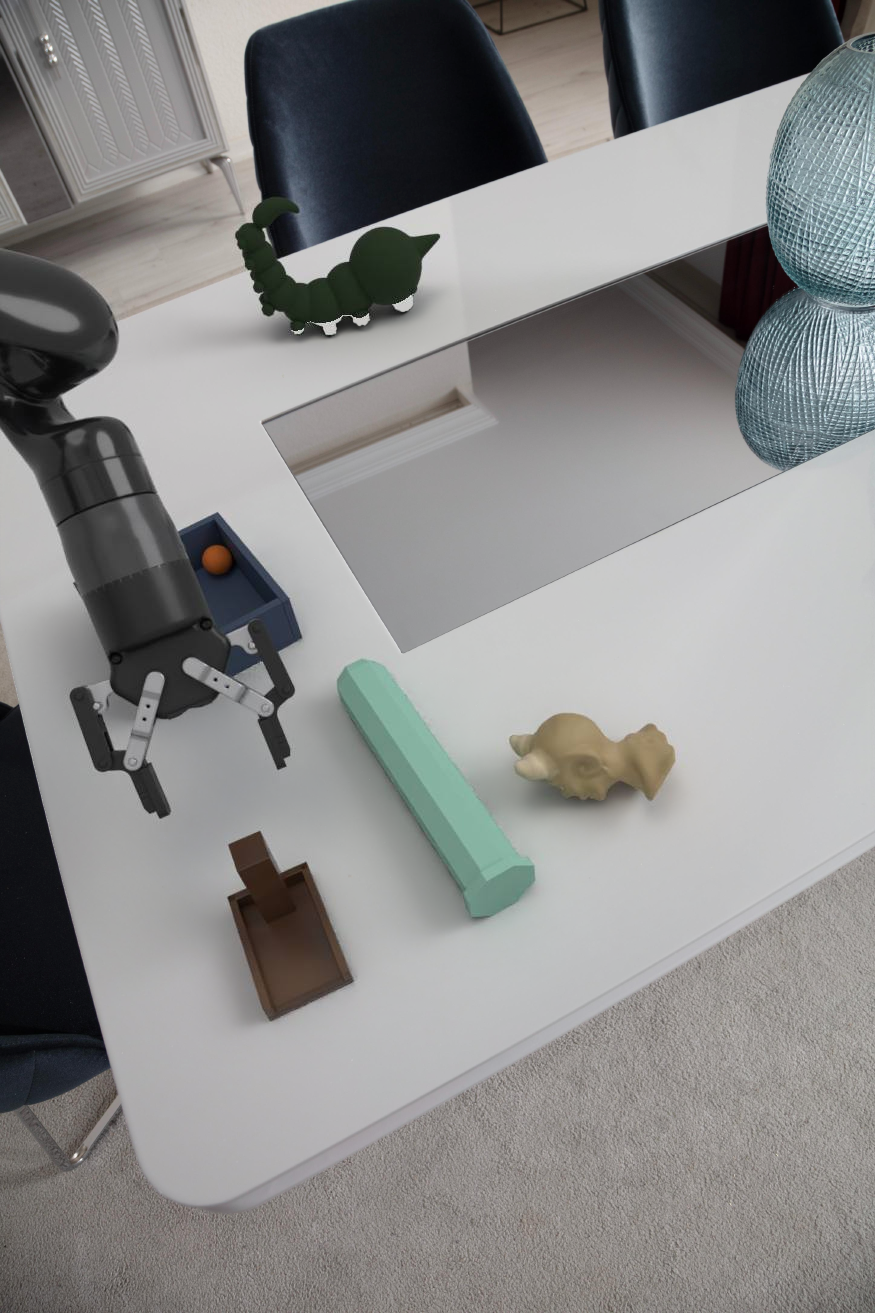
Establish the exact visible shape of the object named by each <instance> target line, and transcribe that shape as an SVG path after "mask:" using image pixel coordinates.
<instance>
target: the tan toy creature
mask: <svg viewBox="0 0 875 1313" xmlns="http://www.w3.org/2000/svg"><path fill="white" fill-rule="evenodd" d="M508 742H509V746H510V747H511V749H512V750H513V752H514V753H515V754H516V755H517V756H518V757H520V758H521V759H520V760H517V761H516V762H514V764H513V769H514V771H515V773H516V774H517V775H518V776H519V777H520V778H522V779H524V780H527V781H538V780H539V781H540V780H546V783H547V784H549V785H550V786H554V787H555V788H556V789H557V790H558V791H559V793H560V794H561V795H562V796H563V798H565V799H569V798H570V797H578V798H579V799H580V800H582V801H585V800H587V799H588V798H589V799H590V800H596V801H603V800H605V799H606V798H607V792H608V791H609V790H610V788H611V787H612V786H613V785H615V784H616V783H618V782H623V783H625V784H628V785H629V786H631V787H633V788H634V789H636V790H638V791H640V792H641V793H643V794H644V796H645V797H646V799H647V801H649V802H652V801H654V800H655V798H656V796H657V795H658V792H659V790H660V789H661V788H662V785H663V783H664V782H665V780H666V779H667V776H668V775H669V774H670V771H671V770H672V768H673V766H674V764H675V763H676V752H675V748H674V746H673V745H671V744H670V743H669V742H668V737H667V735H666V734H665V733H664V732H663V731H661V730H659V729H658V727H657V725H656V724H654V723H647V724H645V725H644V726H643V727H642V728H640V729H639V730H638V731H636V732H632V733H631V732H630V733H627V735H626V736H625V737H624V738H623V739H622V740H620V741H617V742H616V741H613V740H611V739H610V738H609V737H607V736H606V735H605V734H604V732H602V730H601V728H600V727H599V726H598V725H597V724H596V722H595V721H594V720H592V719H591V718H590V717H588V716H586V715H584V714H580V713H576V712H560V713H557V714H553V715H552V716H550V717H549V718H547V719H546V720H544V721H543V722H542V723H541V724H540V725H539V726H538V728H537V729H536V731H535V732H534V733H533V734H530V733H528V734H527V733H525V734H521V735H520V734H519V735H517V734H516V735H515V734H513V735H511V736H510V737H509V739H508Z"/></svg>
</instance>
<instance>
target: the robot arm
mask: <svg viewBox="0 0 875 1313" xmlns="http://www.w3.org/2000/svg"><path fill="white" fill-rule="evenodd" d="M119 345H120V330H119V325H118V321H117V319H116V316H115V314H114V311H113V310H112V308H111V307H110V305H109V304H108V302H107V300H106V299H105V297H104V296H103V295H102V294H101V293H100V292H99V291H98V290H97V289H96V288H95V287H94V286H93V285H92V284H91V283H89V282H88V281H87V280H86V279H85V278H83V277H82V276H80V275H79V274H77V273H76V272H73V271H72V270H70V269H68V267H67V268H66V267H65V266H62V265H60V264H58V263H55V262H54V261H50V260H48V259H45V258H41V257H38V256H34V255H31V254H27V253H23V252H18V251H14V250H10V249H6V248H3V247H0V431H1V433H2V434H3V435H4V436H5V438H6V439H7V441H8V442H9V443H10V445H11V446H12V447H13V449H15V451H16V452H17V453H18V454H19V456H20V457H21V458H22V459H23V460H24V462H25V463H26V465H27V466H28V467H29V469H30V470H31V471H32V473H33V475H34V477H35V480H36V483H37V486H38V487H39V491H40V492H41V495H42V497H43V499H44V501H45V504H46V506H47V509H48V511H49V513H50V515H51V518H52V520H53V523H54V525H55V527H56V531H57V534H58V536H59V538H60V542H61V546H62V550H63V553H64V557H65V561H66V563H67V566H68V568H69V571H70V573H71V576H72V578H73V581H74V582H75V583H76V585H77V587H78V590H79V592H80V595H81V596H80V595H79V596H80V598H81V597H82V598H81V600H82V599H83V600H82V601H83V604H84V606H85V608H86V609H85V610H86V611H87V613H88V616H89V618H90V620H91V623H92V625H93V628H94V630H95V632H96V635H97V637H98V639H99V642H100V645H101V647H102V649H103V651H104V654H105V656H106V658H107V661H108V663H109V664H108V665H109V669H110V674H109V679H106V680H103V681H99V682H96V683H93V684H91V685H90V684H89V685H87V684H84V685H80V686H76V687H74V688H73V689H72V690H71V691H70V693H69V700H70V703H71V706H72V709H73V712H74V714H75V717H76V720H77V723H78V725H79V728H80V731H81V735H82V737H83V740H84V742H85V746H86V747H87V751H88V754H89V757H90V759H91V762H92V764H93V767H94V769H95V770H96V771H97V772H100V773H107V772H113V771H122V772H125V773H126V774H128V775H129V777H130V779H131V781H132V784H133V786H134V789H135V791H136V794H137V795H138V798H139V801H140V802H141V805H142V808H143V810H145V812H147V813H148V814H149V815H151V814H154V813H156V815H157V817H158V819H159V820H161V819H163V818H166V817H168V816H170V815H171V813H172V809H171V806H170V803H169V801H168V798H167V796H166V794H165V791H164V789H163V787H162V784H161V781H160V780H159V777H158V775H157V772H156V771H155V768H154V766H153V763H152V761H150V762H148V760H147V755H148V751H149V747H150V744H151V740H152V738H153V734H154V731H155V728H156V725H157V721H158V720H168V721H170V720H172V719H175V718H178V717H180V716H181V715H183V714H185V713H186V712H187V711H188V710H191V709H198V708H203V707H205V706H208V705H210V704H213V702H214V701H215V700H216V699H217V698H218V697H219V696H220V694H222V695H223V696H225V697H226V698H228V699H230V700H232V701H234V702H235V703H237V704H240V705H241V706H243V707H245V708H247V709H249V710H250V711H252V712H254V713H255V714H257V716H258V719H257V724H258V726H259V729H260V730H261V734H262V736H263V738H264V741H265V743H266V745H267V748H268V750H269V753H270V755H271V758H272V760H273V762H274V765H275V767H276V770H277V771H280V770H282V769H285V768H287V763H286V761H285V759H286V758H289V757H291V746H290V744H289V741H288V739H287V736H286V734H285V732H284V729H283V727H282V724H281V721H280V719H279V717H278V711H279V709H280V708H281V706H282V705H283V704H284V703H285V702H286V701H288V700H289V699H291V698H292V697H294V695H295V693H296V688H295V685H294V683H293V681H292V679H291V677H290V674H289V672H288V670H287V668H286V666H285V664H284V662H283V660H282V658H281V656H280V653H279V651H277V649H276V647H275V645H274V643H273V641H272V639H271V637H270V635H269V633H268V631H267V628H266V626H265V624H264V623H263V622H262V621H261V620H258V619H254V620H252V621H250V622H249V624H248V625H246V626H243V627H241V628H239V629H237V630H235V631H233V632H230V633H228V634H224V633H223V632H222V631H221V630H220V629H219V628H218V627H217V626H216V624H215V621H214V619H213V617H212V614H211V612H210V609H209V607H208V604H207V602H206V599H205V597H204V595H203V592H202V590H201V587H200V585H199V582H198V580H197V578H196V575H195V573H194V570H193V568H192V566H191V564H190V560H189V558H188V556H187V551H186V547H185V545H184V543H183V542H182V541H181V539H180V536H179V534H178V531H179V530H178V529H177V527H176V524H175V523H174V522H175V521H173V519H172V517H171V515H170V514H169V512H168V510H167V509H166V507H165V505H164V503H163V501H162V499H161V496H160V495H159V494H158V493H159V492H158V490H157V488H156V485H155V483H154V480H153V478H152V475H151V473H150V470H149V468H148V465H147V463H146V461H145V458H144V456H143V454H142V451H141V448H140V447H139V444H138V442H137V440H136V438H135V435H134V434H133V432H132V430H131V429H130V428H129V426H128V425H127V424H126V423H125V422H124V421H123V420H121V419H119V418H118V417H114V416H108V415H95V416H87V417H83V418H78V419H77V418H76V417H75V416H74V415H73V413H72V412H71V411H70V409H68V407H67V405H66V404H65V402H64V400H63V395H65V394H67V393H68V392H70V391H72V390H74V389H75V388H77V387H79V386H81V385H82V384H84V383H86V382H87V381H89V380H91V379H92V378H94V377H96V376H97V375H99V374H100V373H101V372H103V371H104V370H106V368H107V367H108V366H109V365H111V363H112V362H113V360H114V359H115V357H116V355H117V353H118V350H119ZM234 645H238V646H241V647H242V648H243V649H244V650H245V652H247V653H248V654H255V653H259V656H260V658H261V661H262V664H263V666H264V668H265V670H266V672H267V674H268V676H269V678H270V680H271V682H272V685H273V687H272V688H271V689H270V690H268V691H267V692H266V693H265V694H264V695H263V694H262V693H261V692H259V691H257V690H256V689H254V688H252V687H250V686H248V685H247V684H245V683H244V682H242V681H240V680H238V679H237V678H235V677H234V676H230V675H228V674H226V670H227V666H228V662H229V658H230V654H231V650H232V646H234ZM112 693H113V694H115V695H116V696H118V697H119V698H122V699H123V700H125V701H127V702H128V703H130V704H131V705H134V707H137V709H136V712H135V717H134V721H133V723H132V726H131V731H130V736H129V740H128V743H127V748H126V749H117V750H115V747H114V744H113V742H112V738H111V736H110V734H109V731H108V727H107V725H106V723H105V722H106V721H105V719H104V716H103V714H104V713H105V712H107V711H108V710H109V707H110V702H109V698H110V696H111V694H112Z"/></svg>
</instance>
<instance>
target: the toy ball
mask: <svg viewBox="0 0 875 1313" xmlns="http://www.w3.org/2000/svg"><path fill="white" fill-rule="evenodd" d="M232 561H233V559H232V555H231V553H230V551H229V550H228V549H227V548H225V547H223V546H220V545H214V546H211V547H209V548H208V549H206V551H205V552H204V554H203V557H202V562H203V565H204V567H205V569H206V570H207V571H208V572H210V573H212V574H215V575H221V574H224V573H226V572H227V571H228V570H229V569H230V568H231V566H232Z"/></svg>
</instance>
